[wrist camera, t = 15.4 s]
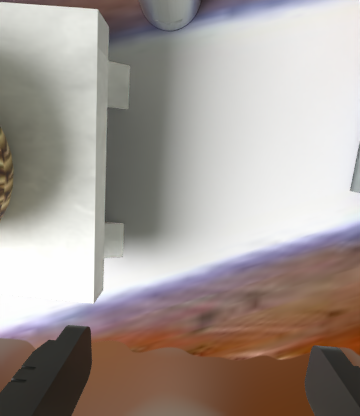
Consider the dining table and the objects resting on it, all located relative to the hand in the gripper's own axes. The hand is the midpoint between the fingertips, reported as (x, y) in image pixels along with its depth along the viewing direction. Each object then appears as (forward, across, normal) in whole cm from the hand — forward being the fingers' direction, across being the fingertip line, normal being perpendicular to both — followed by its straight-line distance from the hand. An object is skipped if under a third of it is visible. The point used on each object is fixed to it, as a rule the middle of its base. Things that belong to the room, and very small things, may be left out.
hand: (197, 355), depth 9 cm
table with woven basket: (+33, +27, -5) cm, 43 cm away
